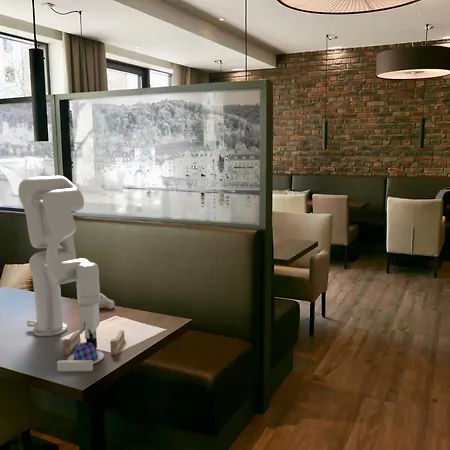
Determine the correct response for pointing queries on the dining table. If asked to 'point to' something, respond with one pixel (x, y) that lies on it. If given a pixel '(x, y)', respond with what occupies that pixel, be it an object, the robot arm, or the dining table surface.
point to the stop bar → (75, 365)
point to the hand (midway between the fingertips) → (91, 349)
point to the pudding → (86, 353)
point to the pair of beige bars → (75, 338)
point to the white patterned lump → (105, 302)
